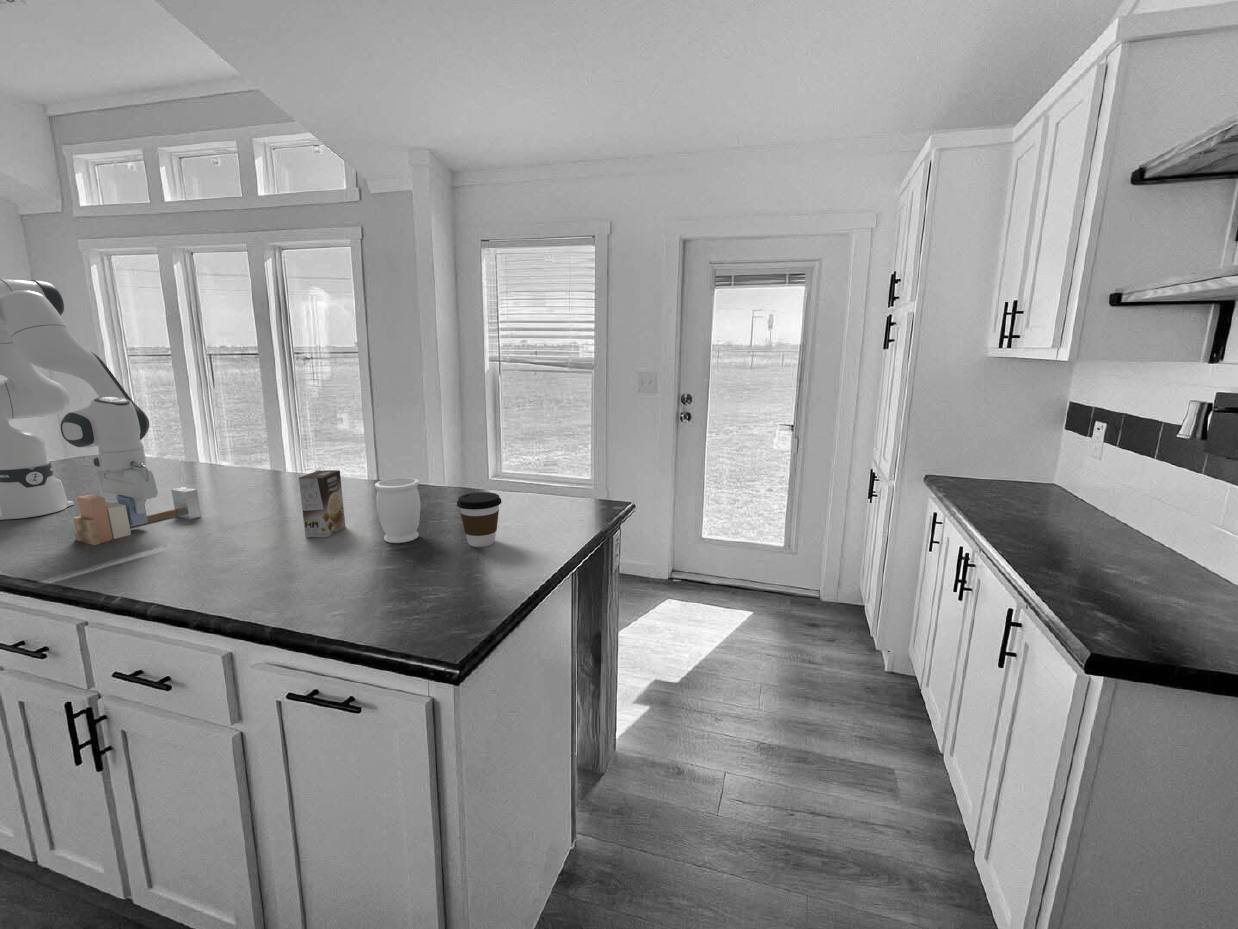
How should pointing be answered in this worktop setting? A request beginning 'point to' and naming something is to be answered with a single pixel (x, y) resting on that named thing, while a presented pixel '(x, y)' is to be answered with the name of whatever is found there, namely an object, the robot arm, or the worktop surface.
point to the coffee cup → (480, 517)
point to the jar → (398, 508)
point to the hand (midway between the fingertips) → (133, 511)
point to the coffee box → (322, 503)
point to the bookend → (186, 503)
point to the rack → (89, 532)
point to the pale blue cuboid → (132, 511)
